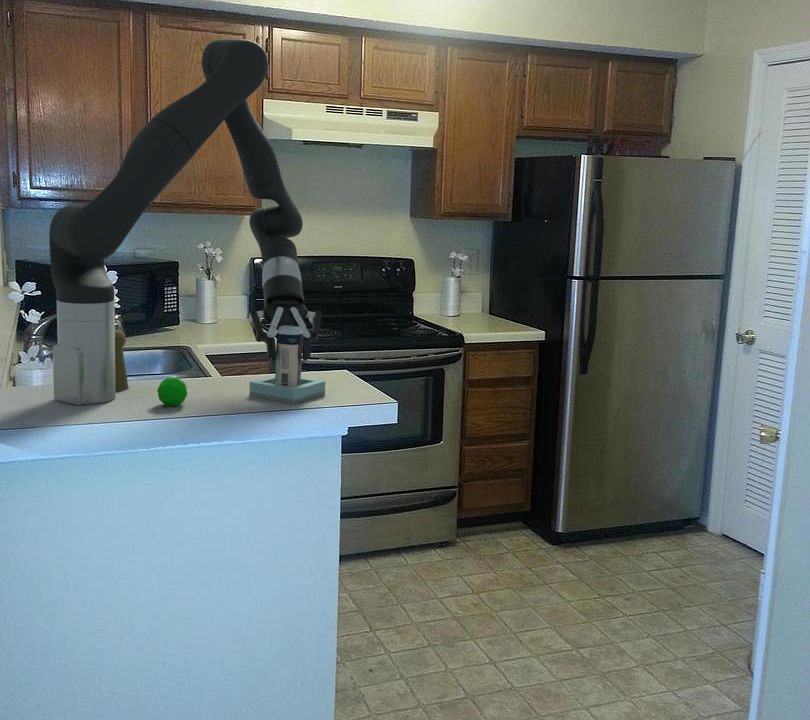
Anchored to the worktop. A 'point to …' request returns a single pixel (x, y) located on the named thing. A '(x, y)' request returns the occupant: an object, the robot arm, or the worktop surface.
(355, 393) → the worktop surface
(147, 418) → the worktop surface
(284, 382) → the beer can
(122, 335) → the brown pawn
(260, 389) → the tray
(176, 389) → the polyhedron
